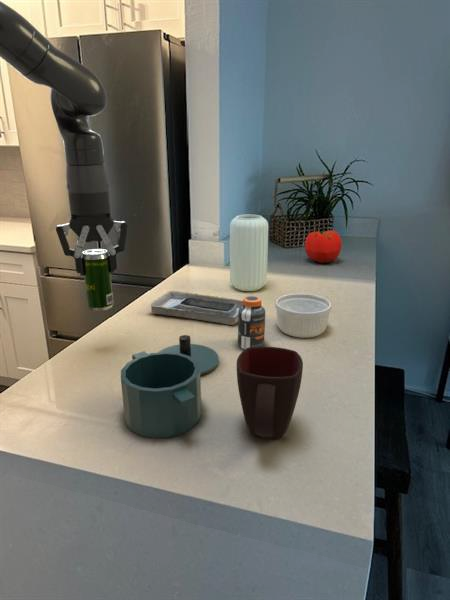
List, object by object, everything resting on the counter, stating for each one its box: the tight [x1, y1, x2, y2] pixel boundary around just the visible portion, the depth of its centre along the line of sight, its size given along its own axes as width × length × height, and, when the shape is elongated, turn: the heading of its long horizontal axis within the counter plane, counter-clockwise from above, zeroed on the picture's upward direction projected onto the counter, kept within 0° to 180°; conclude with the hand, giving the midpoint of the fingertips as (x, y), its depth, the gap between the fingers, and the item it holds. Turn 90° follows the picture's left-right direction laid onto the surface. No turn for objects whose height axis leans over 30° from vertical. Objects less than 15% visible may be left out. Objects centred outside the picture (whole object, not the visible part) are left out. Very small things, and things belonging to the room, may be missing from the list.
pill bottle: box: [237, 295, 266, 350], centre depth 95 cm, size 6×6×11 cm
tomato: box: [304, 229, 342, 264], centre depth 162 cm, size 13×14×12 cm
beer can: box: [81, 248, 114, 312], centre depth 89 cm, size 5×5×12 cm
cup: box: [236, 346, 304, 440], centre depth 65 cm, size 10×14×12 cm
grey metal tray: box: [148, 290, 243, 326], centre depth 115 cm, size 13×25×3 cm, turn 71°
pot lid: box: [157, 334, 219, 376], centre depth 88 cm, size 14×14×6 cm
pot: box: [120, 351, 202, 439], centre depth 71 cm, size 13×18×8 cm
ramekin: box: [274, 292, 332, 339], centre depth 104 cm, size 13×13×7 cm
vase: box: [229, 213, 269, 292], centre depth 131 cm, size 12×12×22 cm
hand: (97, 273), depth 89 cm, fingers closed on beer can, 5 cm apart
